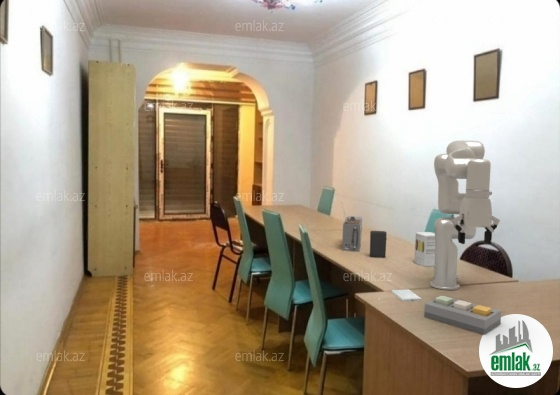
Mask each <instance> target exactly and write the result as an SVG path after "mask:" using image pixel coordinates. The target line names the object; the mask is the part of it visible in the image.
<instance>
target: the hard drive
mask: <svg viewBox="0 0 560 395" xmlns="http://www.w3.org/2000/svg"><path fill="white" fill-rule="evenodd" d="M390 292H391V294H393V295H394V296H395V297H397V298H398V300H400V301H401V302H402V303H404V302H405V303H406V302H423V298H421V297H420V296H419V295H417V294H416V293H414V292H413V291H412V290H410V289H392V290H391V291H390Z"/></svg>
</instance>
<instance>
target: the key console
mask: <svg viewBox="0 0 560 395" xmlns="http://www.w3.org/2000/svg"><path fill="white" fill-rule="evenodd" d="M444 296H445V295H444ZM445 297H447V296H445ZM448 297H449V298H451V297H450V296H448ZM452 298H453V304H454V302H456V301H458V300H459V299H458V298H454V297H452ZM460 300H461V301H463V300H462V299H460ZM464 301H465V300H464ZM465 302H467V301H465ZM468 302H469V301H468ZM469 303H472V306H471V309H470V310H468V311H464V310H461V309H457V308H453V304H451V305H449V306H446V305H442V304H438V303H435V298H434V299H432V300H430V301H428V302H426V303H424V310H423V311H424V312H423V316H424V318H427V317H428V318H427V319H430V318H431V319H430V320H433V319H434V321H436V322H440V323H443V322H444V324H447V325H451V326H453V325H454V327H458V328H460V329H463V328H464V330H467V329H468V330H467V331H470V330H471V332H473V331H474V333H477V334H481V335H484V336H485V335H486V334H488V333H489V332H491V331H492V330H494V329H495V328H497V327H498V326H500V325H501V323H502V322H501V321H502V310H501V309H497V308H494V307H489V306H488V307H489V308H491V315H489V316H483V315H479V314H475V313H473V307H475V306H477V305H479V304H477V303H473V302H469ZM481 306H483V305H481ZM484 306H485V305H484ZM485 307H487V306H485Z"/></svg>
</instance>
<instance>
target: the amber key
mask: <svg viewBox="0 0 560 395" xmlns="http://www.w3.org/2000/svg"><path fill="white" fill-rule="evenodd" d="M491 308H492V307H490V308H489V306H486V307H485V305H482V306H481V305H480V304H478V305H477V306H475V307H473V313H475V314H479V315H483V316H489V315H491Z"/></svg>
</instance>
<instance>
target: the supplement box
mask: <svg viewBox="0 0 560 395" xmlns="http://www.w3.org/2000/svg"><path fill="white" fill-rule="evenodd" d="M414 242H415V244H414V262H413V263H415V264H416V265H417V264H418V265H420V266H422V267H423V268H425V267H434V265H435V232H432V231H431V232H430V231H423V232H420V231H419V232H417V231H416V232H415V240H414Z"/></svg>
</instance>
